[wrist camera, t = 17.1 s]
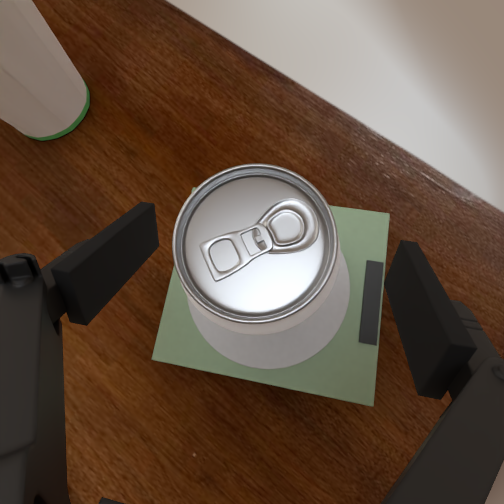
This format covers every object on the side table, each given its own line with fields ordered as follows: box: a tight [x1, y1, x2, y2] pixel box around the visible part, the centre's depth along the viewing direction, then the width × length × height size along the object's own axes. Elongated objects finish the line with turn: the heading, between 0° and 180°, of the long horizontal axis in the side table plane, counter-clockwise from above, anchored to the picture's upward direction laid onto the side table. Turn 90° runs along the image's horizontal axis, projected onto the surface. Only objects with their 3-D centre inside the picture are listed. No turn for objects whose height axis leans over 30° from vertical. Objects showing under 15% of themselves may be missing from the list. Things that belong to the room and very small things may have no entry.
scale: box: [152, 187, 390, 407], centre depth 23 cm, size 16×14×3 cm
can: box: [172, 164, 340, 335], centre depth 16 cm, size 6×6×12 cm
